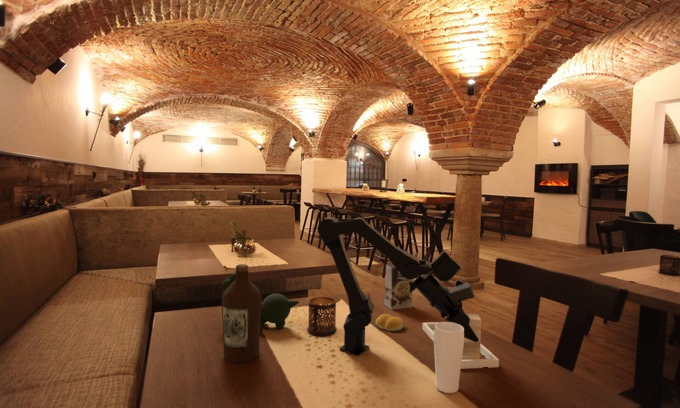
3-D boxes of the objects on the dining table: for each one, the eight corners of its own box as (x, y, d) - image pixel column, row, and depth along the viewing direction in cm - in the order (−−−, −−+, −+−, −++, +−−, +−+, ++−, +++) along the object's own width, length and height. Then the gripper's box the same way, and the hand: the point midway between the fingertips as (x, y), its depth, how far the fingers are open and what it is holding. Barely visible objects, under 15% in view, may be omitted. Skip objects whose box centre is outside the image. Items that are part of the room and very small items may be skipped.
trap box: (498, 367, 105) (499, 359, 105) (457, 368, 104) (457, 361, 104) (455, 327, 133) (456, 321, 133) (422, 328, 131) (422, 322, 131)
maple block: (479, 363, 107) (481, 320, 107) (462, 361, 108) (464, 318, 107) (476, 356, 112) (478, 314, 111) (459, 354, 112) (461, 313, 112)
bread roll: (395, 334, 127) (396, 322, 127) (372, 327, 132) (372, 315, 132) (408, 326, 133) (408, 315, 133) (385, 320, 139) (385, 309, 139)
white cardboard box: (391, 310, 149) (392, 267, 148) (384, 304, 155) (385, 264, 154) (412, 307, 152) (414, 266, 151) (404, 302, 158) (406, 262, 157)
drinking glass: (439, 378, 99) (442, 319, 98) (466, 387, 95) (468, 326, 94) (427, 389, 94) (429, 327, 93) (454, 399, 89) (457, 334, 88)
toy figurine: (221, 335, 127) (298, 332, 124) (216, 276, 125) (293, 273, 123) (231, 324, 136) (303, 321, 134) (227, 270, 135) (299, 266, 133)
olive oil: (232, 345, 116) (233, 260, 114) (267, 348, 113) (267, 262, 112) (214, 361, 105) (214, 268, 103) (251, 366, 103) (252, 271, 101)
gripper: (461, 282, 100) (506, 328, 99) (452, 266, 118) (489, 304, 117) (428, 310, 101) (472, 356, 100) (424, 290, 120) (460, 328, 119)
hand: (474, 334), depth 109 cm, fingers open, 9 cm apart
